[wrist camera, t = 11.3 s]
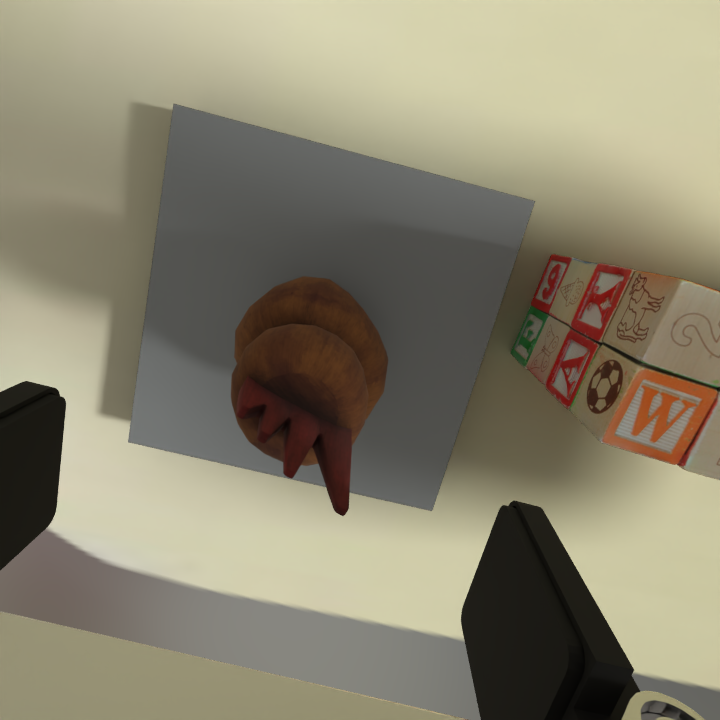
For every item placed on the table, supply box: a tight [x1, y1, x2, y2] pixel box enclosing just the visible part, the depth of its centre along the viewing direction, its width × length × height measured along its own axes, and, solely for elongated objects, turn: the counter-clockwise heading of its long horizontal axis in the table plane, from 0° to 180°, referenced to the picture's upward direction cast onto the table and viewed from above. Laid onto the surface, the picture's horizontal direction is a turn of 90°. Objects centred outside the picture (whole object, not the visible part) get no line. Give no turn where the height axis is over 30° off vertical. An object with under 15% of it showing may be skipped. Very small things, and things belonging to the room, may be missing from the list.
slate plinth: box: [128, 104, 535, 511], centre depth 28 cm, size 18×18×2 cm
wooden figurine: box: [231, 276, 388, 516], centre depth 19 cm, size 7×6×15 cm
